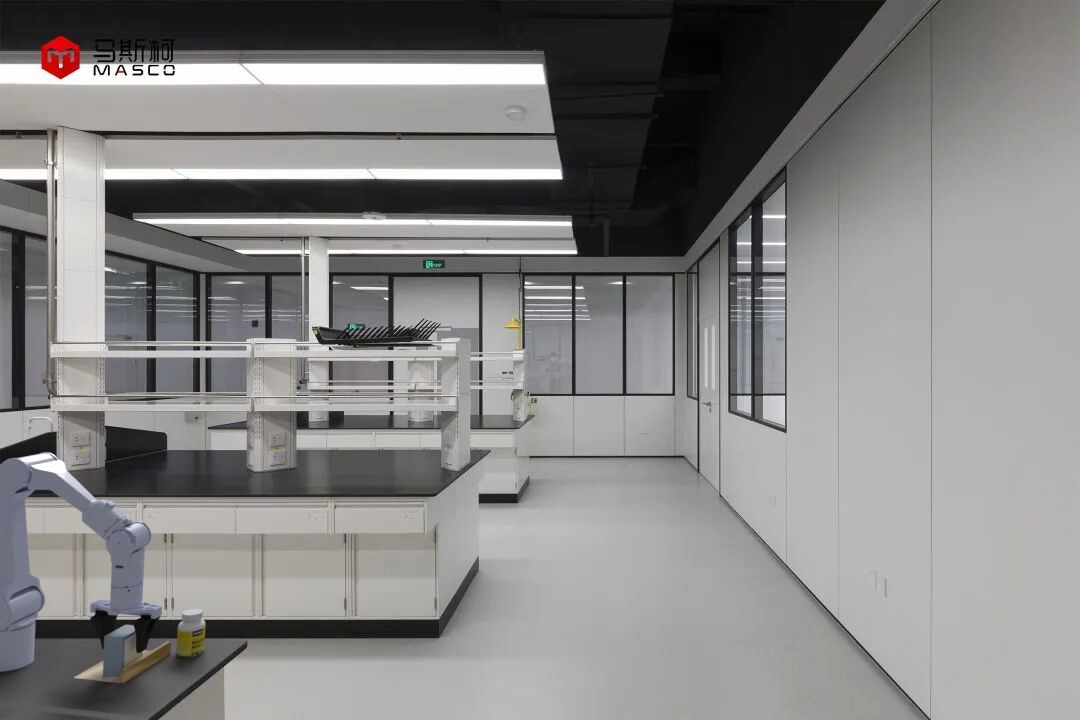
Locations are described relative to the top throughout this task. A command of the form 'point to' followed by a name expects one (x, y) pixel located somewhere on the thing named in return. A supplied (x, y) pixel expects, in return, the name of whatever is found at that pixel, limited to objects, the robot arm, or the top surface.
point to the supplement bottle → (191, 634)
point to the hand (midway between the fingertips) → (124, 649)
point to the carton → (119, 650)
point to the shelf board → (130, 670)
